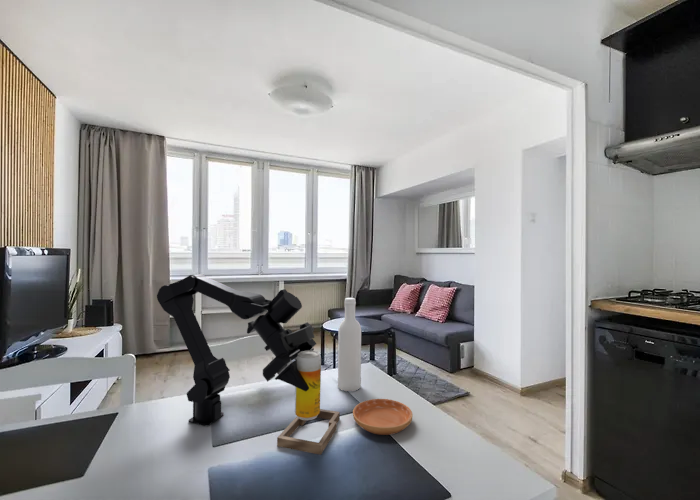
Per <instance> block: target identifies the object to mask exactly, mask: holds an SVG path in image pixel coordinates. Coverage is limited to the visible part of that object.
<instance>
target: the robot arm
mask: <svg viewBox="0 0 700 500" xmlns="http://www.w3.org/2000/svg"><path fill="white" fill-rule="evenodd" d="M198 293H199V294H202V295H204V296H205V297H209V298H210V299H212V300H215V301H217V302H219V303H222V304H223V305H226V306H227V307H228V308H229V310H230V311H231V313H233V314H234V315H236V316H237V317H238V318H240V319H241V320H249V319H253V318H255V317H257V318H256V319H255V320H252V321H250V322H247V329H246V334H251V333H253V332H256V334H258V336H259V337H260V338H261V340H262V341H263V342H264V343H265V345H266V346H264V350H265V351H266V352H267V351H269V350H270V352H271V353H272V354H273V355H274V358H273V359H272V360H271V361H270V362H269V363H268V364H267V365H266V366H265V367H263V369H262V376H263V378H264V379H265V380H266V382H269V381H270V380H272V379H274V380H275V381H277V380H278V381H282V382H284V383H287V384H289V385H291V386H293V387H294V388H295V387H297V388H299V389H302V390H304V391H307V390H308V389H309V387H308V385H307V383H306V382H305V380H304V378H303V377H302V375H301V374H300V372H299V371H298V369H297V360H296V358H297V356H298V353H299V352H302V351H315V350H314V349H315V348H314V347H316V345H317V342H316V341H315V340H314V338H315V335H314V332H315V328H314V327H313V326H312V325H311V324H310V323H309V322H304V323H303V324H300V325H299V329H298V330H295V331H294V332H293V331H292V330H291V329H290V328H287V329H285V328H284V326H282V324H287V323H288V322H289V321H290V320H291V319H292V318H293V317H294V316H295V315H296V314H297V313H298V312H299V311H300V310H301V309H302V308H303V306H302V305H303V304H302V302H301V300H300V299H299V297H297V296H295V295H294V294H293V293H291V292H288V291H287V290H286V289H285V288H284V289H280V290H279V291H278V292H277V294H276V295H275V296H274V297H273V299H272V300H271V299H267V298H266V297H265V296H263V295H262V294H261V293H255V292H252V291H242V290H237V289H235V288H232V287H230V286H228V285H226V284H223V283H221V282H219V281H216V280H214V279H212V278H210V277H209V276H208V277H207V276H206V275H205V274H202V273H199V274H198V273H197V274H190V275H188V276H186V277H184V278H182V279H180V280H177V281H175V282H172V283H170V284H166V285H162V286H161V287H160V288H159V289H158V292H157V294H156V299H157V302H158V303H159V305H160V306H161V308H162V310H163V311H164V312H166V313H167V314H168V315H169V316H171V317H173V319H174V321H175V323H176V326H177V328H178V331H179V332H180V335H181V337H182V339H183V342H184V344H185V346H186V348H187V351H188V354H189V355H190V358H191V360H192V362H193V364H194V368H193V374H192V375H193V377H192V378H193V382H194V385H192V387H191V388H190V389H189V390H188V391H187V392H186V398H187V401H188V402H191V403H192V417H191V418H189V419H188V423H191V424H197V425H202V426H210V425H211V424H213V423H214V422H216V421H217V420H219V419H221V418H222V416H224V415H225V414H224V412H223V411H222V400H221V394H220V393H222V392H224V391H225V388H226V386H228V384H229V380H230V379H231V377H230V370H231V369H230V368H229V367H228V366H227V364H226V363H227V362H226V359H224V357H221V358H217V357H216V356H215V355H214V354H213V353H212V350H211V348H210V347H209V344H208V342H207V338H206V337H205V335H204V333H203V330H202V328H201V326H200V324H199V322H198V320H197V317H196V315H195V312H194V310H193V307H194V301H195V300H194V295H196V294H198ZM265 312H266V313H265ZM264 313H265V314H264ZM276 374H277V376H276ZM275 376H276V377H275Z"/></svg>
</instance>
